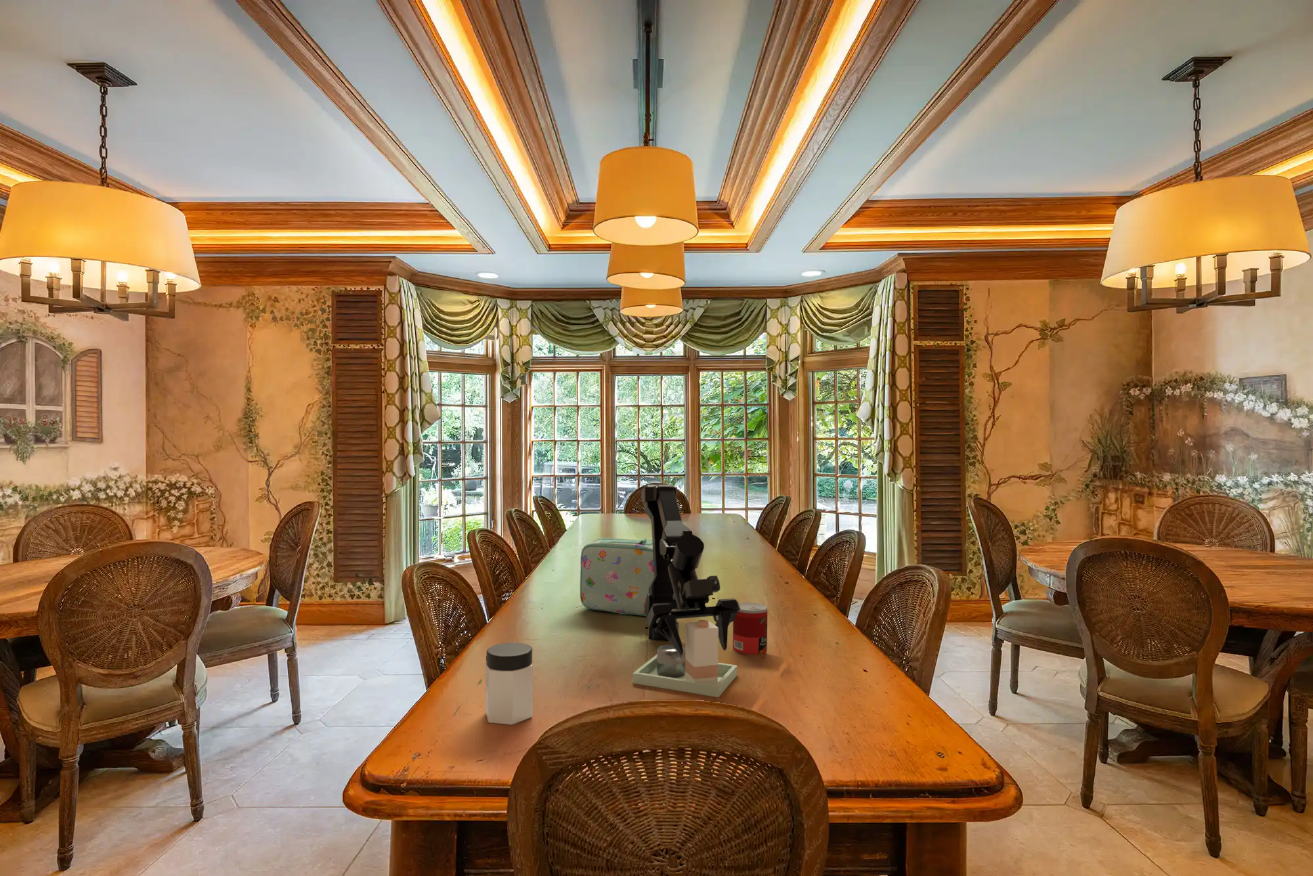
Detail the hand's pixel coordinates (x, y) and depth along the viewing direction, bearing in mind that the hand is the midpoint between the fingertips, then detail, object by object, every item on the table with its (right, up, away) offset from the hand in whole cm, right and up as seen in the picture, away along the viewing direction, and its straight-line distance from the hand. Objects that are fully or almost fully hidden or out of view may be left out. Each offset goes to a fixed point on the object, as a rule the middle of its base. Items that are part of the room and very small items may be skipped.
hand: (703, 651), depth 135 cm
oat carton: (0, -7, +1) cm, 7 cm away
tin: (-6, -7, +8) cm, 12 cm away
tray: (-3, -8, +5) cm, 10 cm away
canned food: (+12, -8, +25) cm, 29 cm away
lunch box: (-18, -8, +61) cm, 64 cm away
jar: (-36, -8, -12) cm, 39 cm away
